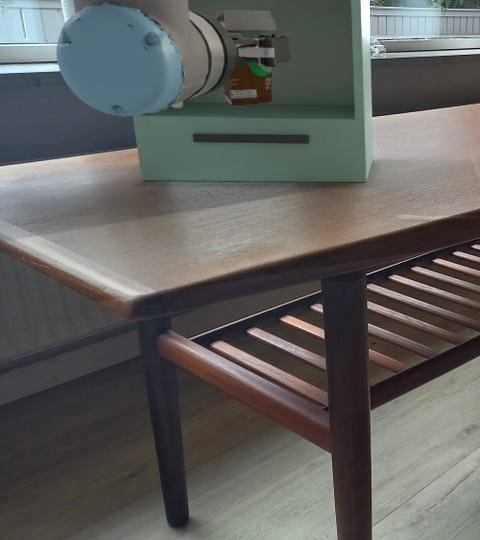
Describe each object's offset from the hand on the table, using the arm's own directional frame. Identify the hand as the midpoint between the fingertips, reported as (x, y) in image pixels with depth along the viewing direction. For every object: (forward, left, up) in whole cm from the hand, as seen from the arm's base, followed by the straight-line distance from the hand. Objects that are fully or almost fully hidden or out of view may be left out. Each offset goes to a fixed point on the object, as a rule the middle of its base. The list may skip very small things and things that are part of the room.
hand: (244, 45), depth 82 cm
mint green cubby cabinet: (-1, +8, -17) cm, 18 cm away
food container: (+2, -3, -6) cm, 7 cm away
